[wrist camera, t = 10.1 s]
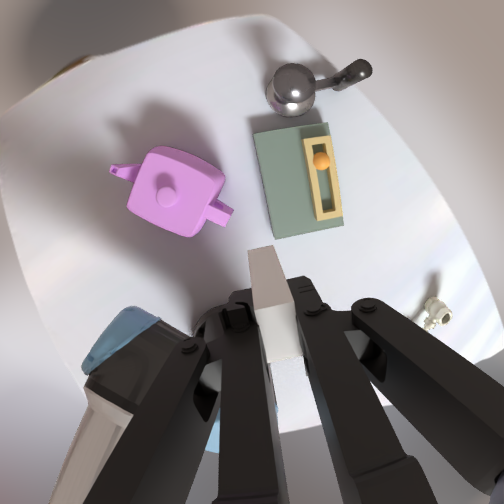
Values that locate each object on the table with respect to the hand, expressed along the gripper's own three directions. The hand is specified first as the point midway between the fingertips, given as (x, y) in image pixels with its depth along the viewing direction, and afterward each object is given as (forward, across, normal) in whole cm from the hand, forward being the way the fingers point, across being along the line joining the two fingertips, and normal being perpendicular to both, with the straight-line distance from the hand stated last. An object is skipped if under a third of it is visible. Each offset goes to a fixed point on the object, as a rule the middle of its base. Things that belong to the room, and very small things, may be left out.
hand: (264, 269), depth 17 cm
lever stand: (+28, +8, +1) cm, 29 cm away
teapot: (+29, -10, +4) cm, 31 cm away
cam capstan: (+28, +12, +14) cm, 34 cm away
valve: (+29, +32, -32) cm, 54 cm away
